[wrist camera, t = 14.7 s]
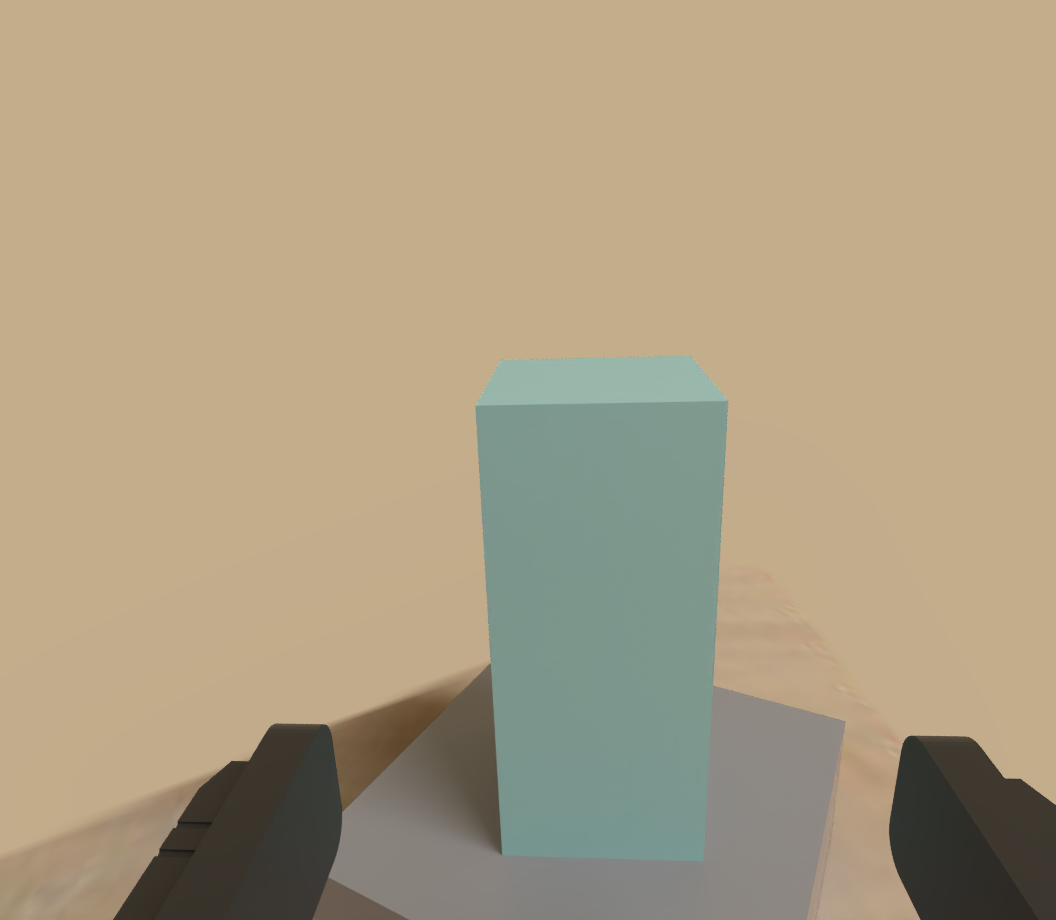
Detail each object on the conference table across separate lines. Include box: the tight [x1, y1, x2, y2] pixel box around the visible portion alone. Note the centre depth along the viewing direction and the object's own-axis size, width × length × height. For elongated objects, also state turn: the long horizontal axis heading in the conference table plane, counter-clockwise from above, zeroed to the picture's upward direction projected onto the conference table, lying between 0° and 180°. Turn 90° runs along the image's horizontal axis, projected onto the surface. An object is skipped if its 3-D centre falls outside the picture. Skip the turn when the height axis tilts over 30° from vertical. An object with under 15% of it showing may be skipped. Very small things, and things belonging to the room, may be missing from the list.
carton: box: [476, 356, 728, 861], centre depth 22 cm, size 6×6×14 cm
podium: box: [312, 663, 845, 920], centre depth 25 cm, size 14×14×5 cm
